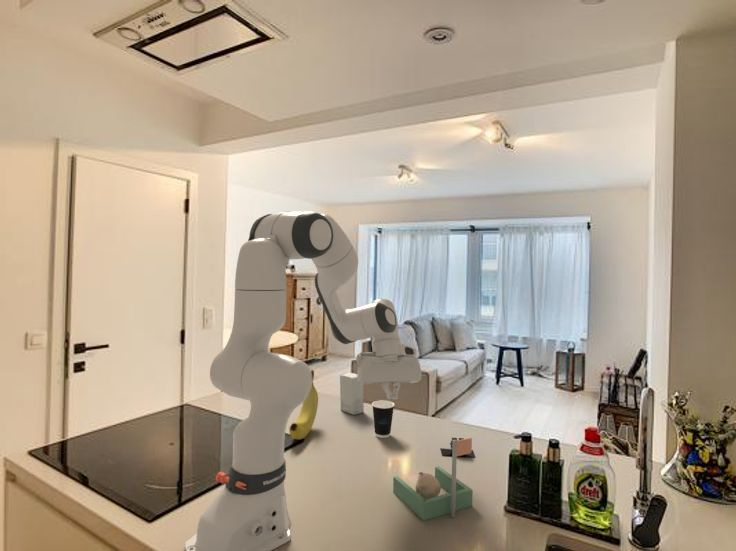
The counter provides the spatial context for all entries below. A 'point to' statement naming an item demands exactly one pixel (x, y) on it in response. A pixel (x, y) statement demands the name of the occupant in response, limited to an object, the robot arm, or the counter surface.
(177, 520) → the counter surface
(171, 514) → the counter surface
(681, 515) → the counter surface
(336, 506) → the counter surface
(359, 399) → the skincare box
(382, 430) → the dixie cup
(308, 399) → the banana
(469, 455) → the build plate
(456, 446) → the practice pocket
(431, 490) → the garlic bulb
